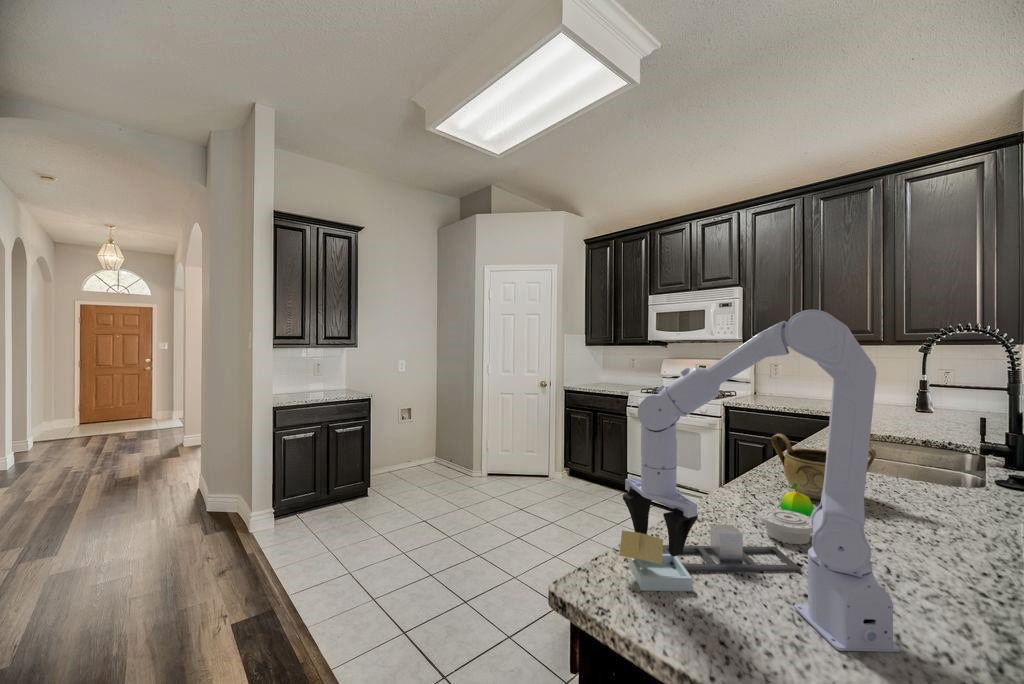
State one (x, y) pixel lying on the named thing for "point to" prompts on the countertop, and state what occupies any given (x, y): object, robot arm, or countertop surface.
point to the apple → (797, 502)
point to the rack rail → (747, 567)
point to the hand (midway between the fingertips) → (657, 544)
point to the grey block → (726, 544)
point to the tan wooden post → (641, 547)
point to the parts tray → (661, 575)
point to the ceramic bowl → (806, 467)
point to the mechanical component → (787, 526)
